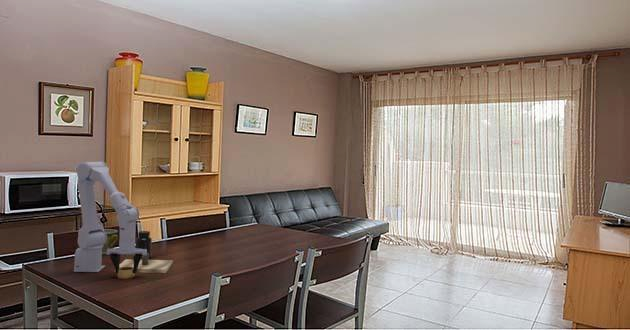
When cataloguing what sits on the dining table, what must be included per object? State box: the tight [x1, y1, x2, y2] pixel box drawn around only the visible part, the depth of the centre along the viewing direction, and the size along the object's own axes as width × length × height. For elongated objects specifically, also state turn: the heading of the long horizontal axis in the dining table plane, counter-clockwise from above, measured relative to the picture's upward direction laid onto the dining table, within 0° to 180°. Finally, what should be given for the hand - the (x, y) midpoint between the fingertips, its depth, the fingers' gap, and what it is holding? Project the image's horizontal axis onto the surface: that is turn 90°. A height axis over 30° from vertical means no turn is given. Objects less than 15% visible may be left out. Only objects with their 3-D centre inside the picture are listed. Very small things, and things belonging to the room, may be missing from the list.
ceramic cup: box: [102, 228, 119, 255], centre depth 205 cm, size 13×10×10 cm
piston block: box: [114, 253, 174, 274], centre depth 185 cm, size 20×14×6 cm
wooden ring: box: [117, 266, 136, 279], centre depth 173 cm, size 6×6×3 cm
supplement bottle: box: [135, 230, 153, 260], centre depth 200 cm, size 7×7×12 cm
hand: (126, 272), depth 173 cm, fingers closed on wooden ring, 6 cm apart
